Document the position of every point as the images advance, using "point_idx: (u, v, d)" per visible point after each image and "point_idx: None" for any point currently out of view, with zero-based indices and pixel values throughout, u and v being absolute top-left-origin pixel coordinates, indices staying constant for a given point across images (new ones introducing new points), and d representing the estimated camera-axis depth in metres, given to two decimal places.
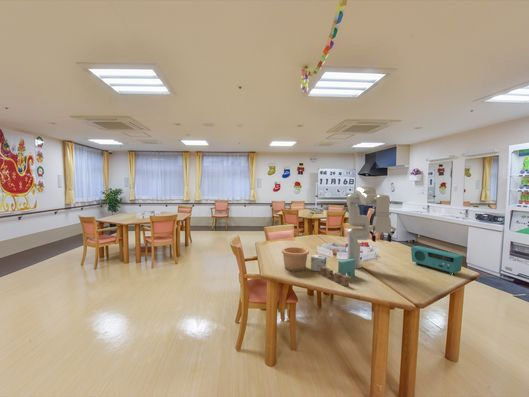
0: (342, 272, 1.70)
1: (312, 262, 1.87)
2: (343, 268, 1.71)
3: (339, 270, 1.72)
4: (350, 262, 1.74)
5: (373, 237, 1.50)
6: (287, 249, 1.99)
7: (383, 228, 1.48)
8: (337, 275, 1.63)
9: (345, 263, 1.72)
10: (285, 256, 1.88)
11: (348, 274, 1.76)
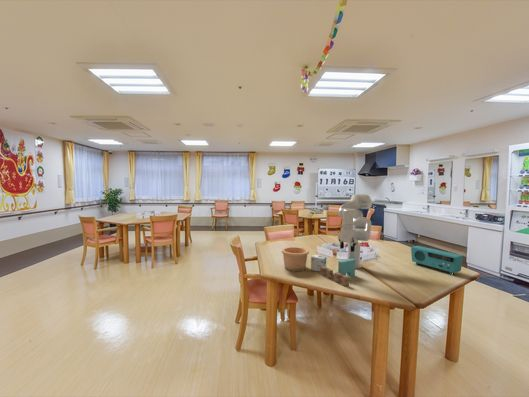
0: (342, 272, 1.70)
1: (312, 262, 1.87)
2: (343, 268, 1.71)
3: (339, 270, 1.72)
4: (350, 262, 1.74)
5: None
6: (287, 249, 1.99)
7: None
8: (337, 275, 1.63)
9: (345, 263, 1.72)
10: (285, 256, 1.88)
11: (348, 274, 1.76)
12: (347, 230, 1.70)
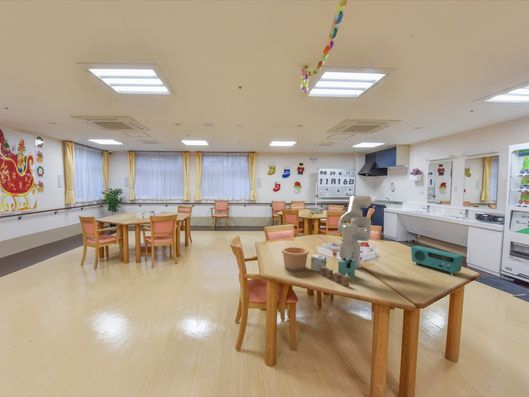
0: (342, 272, 1.70)
1: (312, 262, 1.87)
2: (343, 268, 1.71)
3: (339, 270, 1.72)
4: None
5: None
6: (287, 249, 1.99)
7: None
8: (337, 275, 1.63)
9: (345, 263, 1.72)
10: (285, 256, 1.88)
11: (348, 274, 1.76)
12: (347, 246, 1.71)
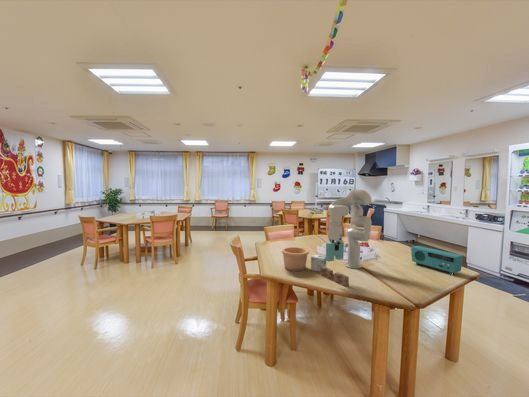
0: (330, 254, 1.64)
1: (312, 262, 1.87)
2: (331, 250, 1.64)
3: (327, 252, 1.65)
4: None
5: (338, 246, 1.66)
6: (287, 249, 1.99)
7: None
8: (337, 275, 1.63)
9: (333, 245, 1.65)
10: (285, 256, 1.88)
11: (336, 257, 1.69)
12: (335, 227, 1.64)
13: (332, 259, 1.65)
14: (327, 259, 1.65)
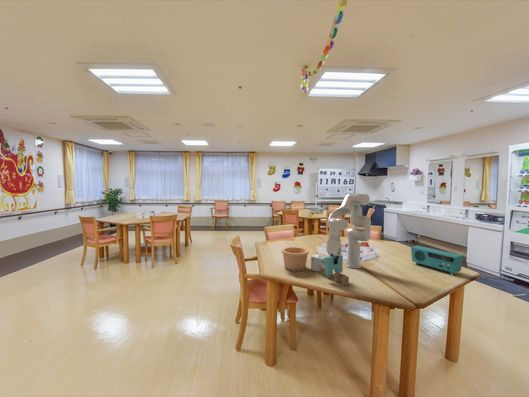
0: (328, 268, 1.64)
1: (312, 262, 1.87)
2: (329, 264, 1.64)
3: (325, 266, 1.65)
4: None
5: None
6: (287, 249, 1.99)
7: None
8: (337, 275, 1.63)
9: (332, 259, 1.65)
10: (285, 256, 1.88)
11: (335, 271, 1.70)
12: (333, 241, 1.64)
13: (330, 273, 1.65)
14: (325, 273, 1.65)
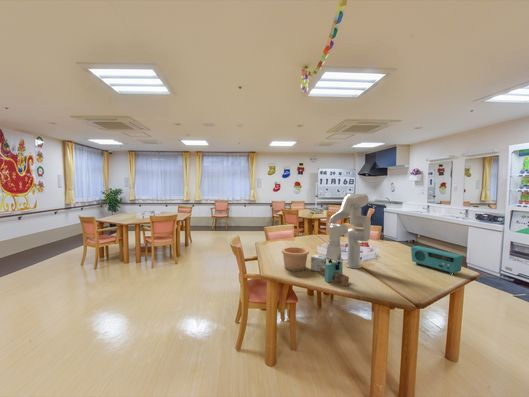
0: (328, 275, 1.64)
1: (312, 262, 1.87)
2: (329, 271, 1.65)
3: (325, 273, 1.65)
4: None
5: (338, 266, 1.65)
6: (287, 249, 1.99)
7: None
8: (337, 275, 1.63)
9: (332, 266, 1.65)
10: (285, 256, 1.88)
11: None
12: (333, 247, 1.64)
13: (330, 280, 1.65)
14: (326, 279, 1.65)
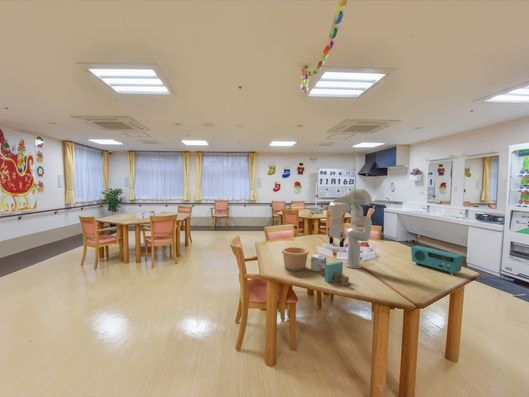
0: (329, 275, 1.64)
1: (312, 262, 1.87)
2: (329, 271, 1.64)
3: (326, 273, 1.65)
4: (337, 265, 1.68)
5: None
6: (287, 249, 1.99)
7: None
8: (337, 275, 1.63)
9: (332, 266, 1.65)
10: (285, 256, 1.88)
11: None
12: (336, 225, 1.64)
13: (330, 280, 1.65)
14: (326, 279, 1.65)
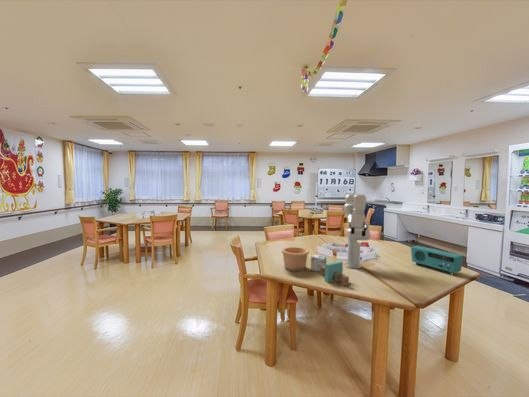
0: (329, 275, 1.64)
1: (312, 262, 1.87)
2: (329, 271, 1.64)
3: (326, 273, 1.65)
4: (337, 265, 1.68)
5: None
6: (287, 249, 1.99)
7: None
8: (337, 275, 1.63)
9: (332, 266, 1.65)
10: (285, 256, 1.88)
11: None
12: (358, 215, 1.72)
13: (330, 280, 1.65)
14: (326, 279, 1.65)
